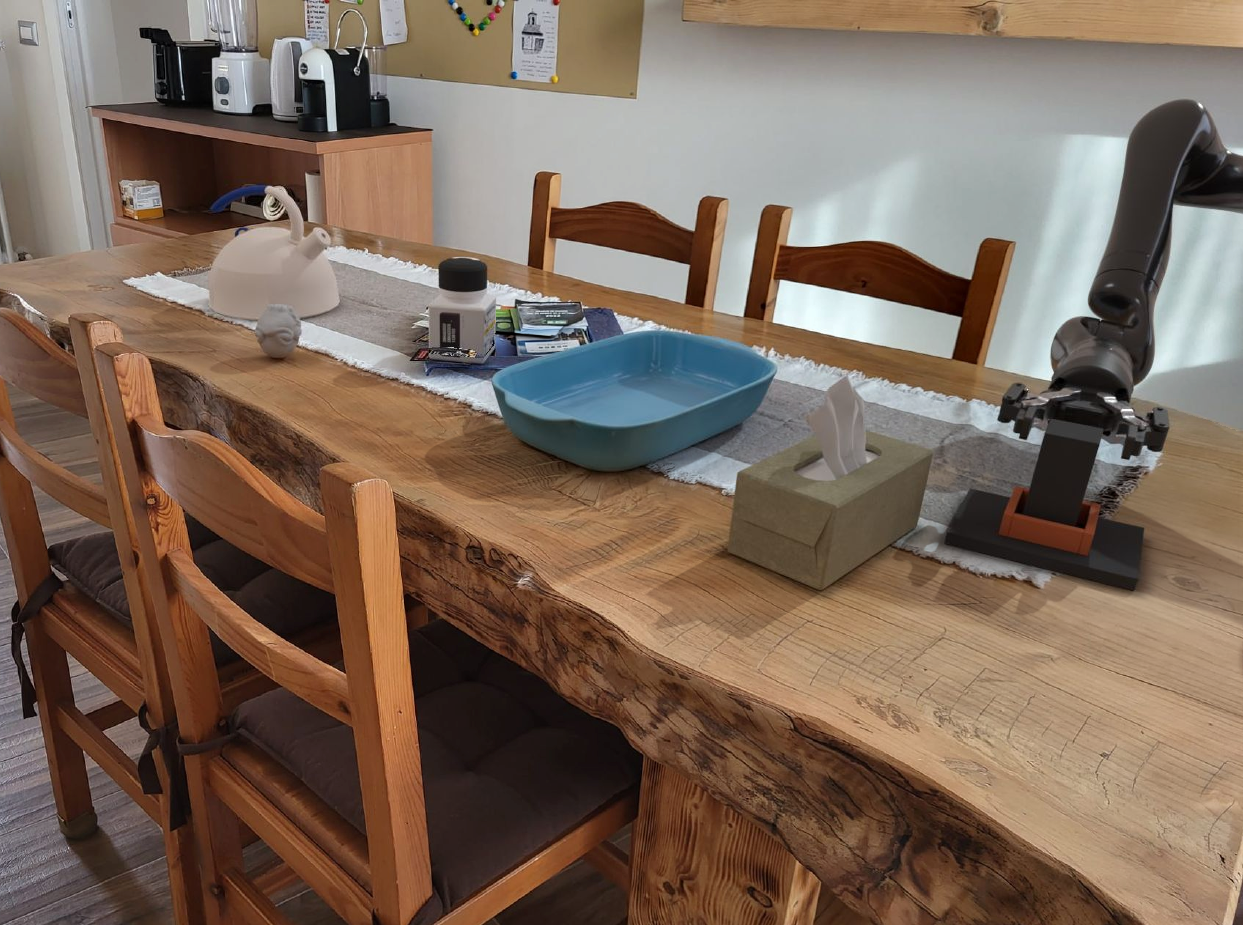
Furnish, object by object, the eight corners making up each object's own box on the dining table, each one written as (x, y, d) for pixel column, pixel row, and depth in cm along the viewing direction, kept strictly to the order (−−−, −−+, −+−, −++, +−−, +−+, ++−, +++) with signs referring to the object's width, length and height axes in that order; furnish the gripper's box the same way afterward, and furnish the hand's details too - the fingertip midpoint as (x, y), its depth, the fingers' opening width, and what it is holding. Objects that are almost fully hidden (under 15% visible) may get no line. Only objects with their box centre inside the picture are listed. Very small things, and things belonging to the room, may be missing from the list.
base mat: (1140, 538, 100) (1151, 506, 98) (1134, 591, 90) (1145, 556, 89) (967, 498, 107) (974, 468, 105) (944, 543, 97) (952, 511, 96)
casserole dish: (600, 502, 103) (605, 435, 99) (452, 438, 116) (452, 377, 113) (801, 417, 126) (810, 360, 123) (658, 371, 140) (663, 319, 137)
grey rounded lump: (312, 351, 143) (308, 301, 140) (289, 366, 137) (285, 314, 134) (271, 347, 144) (267, 297, 141) (247, 361, 138) (242, 310, 135)
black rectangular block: (1074, 526, 99) (1103, 428, 94) (1069, 545, 95) (1099, 444, 91) (1024, 515, 101) (1050, 418, 96) (1017, 532, 97) (1044, 433, 93)
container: (483, 364, 140) (484, 268, 135) (428, 359, 142) (427, 264, 136) (495, 348, 147) (497, 256, 141) (442, 344, 148) (442, 252, 142)
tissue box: (828, 494, 106) (855, 344, 99) (918, 526, 100) (954, 369, 93) (723, 553, 94) (745, 387, 87) (819, 593, 88) (850, 418, 81)
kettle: (296, 328, 153) (287, 201, 144) (180, 310, 159) (164, 188, 151) (365, 297, 170) (360, 182, 161) (257, 282, 176) (247, 171, 168)
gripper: (1157, 439, 105) (1151, 495, 92) (1007, 411, 111) (982, 460, 98) (1180, 368, 101) (1177, 415, 89) (1024, 343, 108) (1001, 384, 95)
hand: (1075, 439), depth 93 cm, fingers open, 8 cm apart
